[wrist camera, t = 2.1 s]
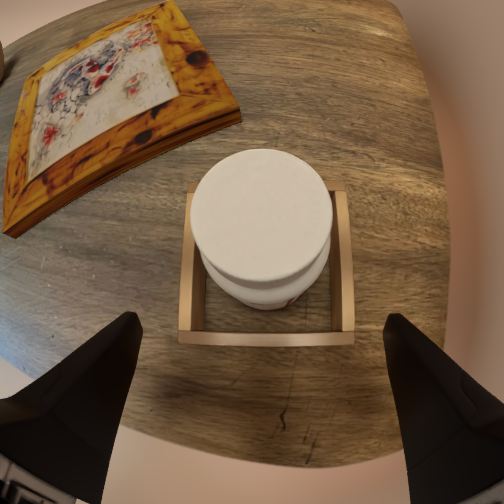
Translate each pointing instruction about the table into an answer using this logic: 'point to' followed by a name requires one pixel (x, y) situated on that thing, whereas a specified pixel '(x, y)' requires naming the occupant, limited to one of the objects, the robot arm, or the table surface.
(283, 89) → the table surface
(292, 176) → the pill bottle
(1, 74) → the flower pot
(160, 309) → the table surface
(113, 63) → the picture frame
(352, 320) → the square wooden frame
